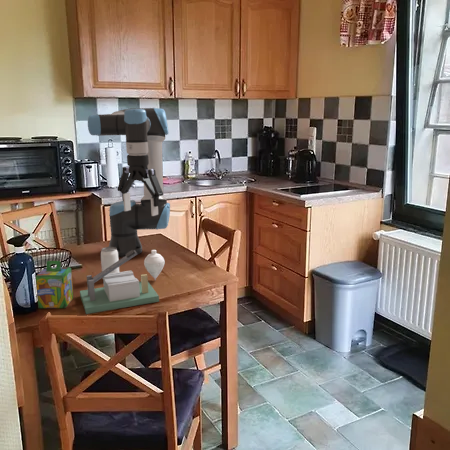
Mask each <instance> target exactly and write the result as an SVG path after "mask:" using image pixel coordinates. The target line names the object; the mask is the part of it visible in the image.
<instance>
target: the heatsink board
mask: <svg viewBox="0 0 450 450" xmlns="http://www.w3.org/2000/svg"><path fill="white" fill-rule="evenodd" d="M91 278H93V277H92V275H91V274H89V275H86V284H87V289H85V290H84V289H83V290H79V296H80V300H81V303H82V305H83V308H84V309H83V310H84V312H85V314H86V315H89V314H94V313H101V312H106V311H113V310H117V309H123V308H129V307H134V306H140V305H146V304H152V303H153V304H154V303H157V302H160V296H159V294H158V293H157V291H156V290H155V289H154V288H153V286H152V284H150V282H149V279H148V278H149V277H148V274H147V273H146V274H140V281H139V278H136V277H135V275H134V271H132V270H126V271H125V270H124V271H119V272H117V273H110V274H107V275H106V276H104V277H103V278H102V280H103V287H97V288H95V283H94V280H89V279H91Z"/></svg>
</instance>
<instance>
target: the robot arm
mask: <svg viewBox="0 0 450 450" xmlns="http://www.w3.org/2000/svg"><path fill="white" fill-rule="evenodd" d="M167 119H168V118H167V114H166V111H165V109H163V108H161V107H160V108H159V107H158V108H156V107H152V108H151V107H145V108H144V107H143V108H142V107H141V108H134V107H133V108H125V109H121V110H116V111H114V112H112V113H106V114H97V113H96V114H91V115H89V116H88V117H87V129H88V130H87V131H88V133H89V134H90V135H91V136H96V137H97V136H98V137H100V136H101V137H102V136H125V146H126V154H127V156H126V161H127V162H126V164H127V166H123V167H122V169H121V170H122V171H121V175H120V180H119V183H118V187H117V189H116V190H117V192H120V193H121V199H122V201H117V202H114V203H112V204H111V205H109V224H110V240H109V244H108V247H116V248H117V251H118V258H123V257H125V256H126V255H125V254H126V253H128V252H130V251H131V250H133V251H134V250H135V251H136V252H137V255H140V254H141V253H142V252H143V245H142V243H141V241H140V238H139V236H138V230H141V231H142V230H143V231H144V230H163V229H164V230H165V229H167V228H168V226H169V223H170V222H169V221H170V214H171V203H170V202H168V199H167V198H166V197H165V196H164V178H163V175H164V171H163V170H164V169H163V142H164V141H165V140H166V136H167V135H169V127H168V121H167ZM135 181H138V182H141V183H143V196H142V197H141V199H140V203H137V202H136V200H133V199H131V192H130V189H131V187H132V186H133V184H134V183H135Z"/></svg>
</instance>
